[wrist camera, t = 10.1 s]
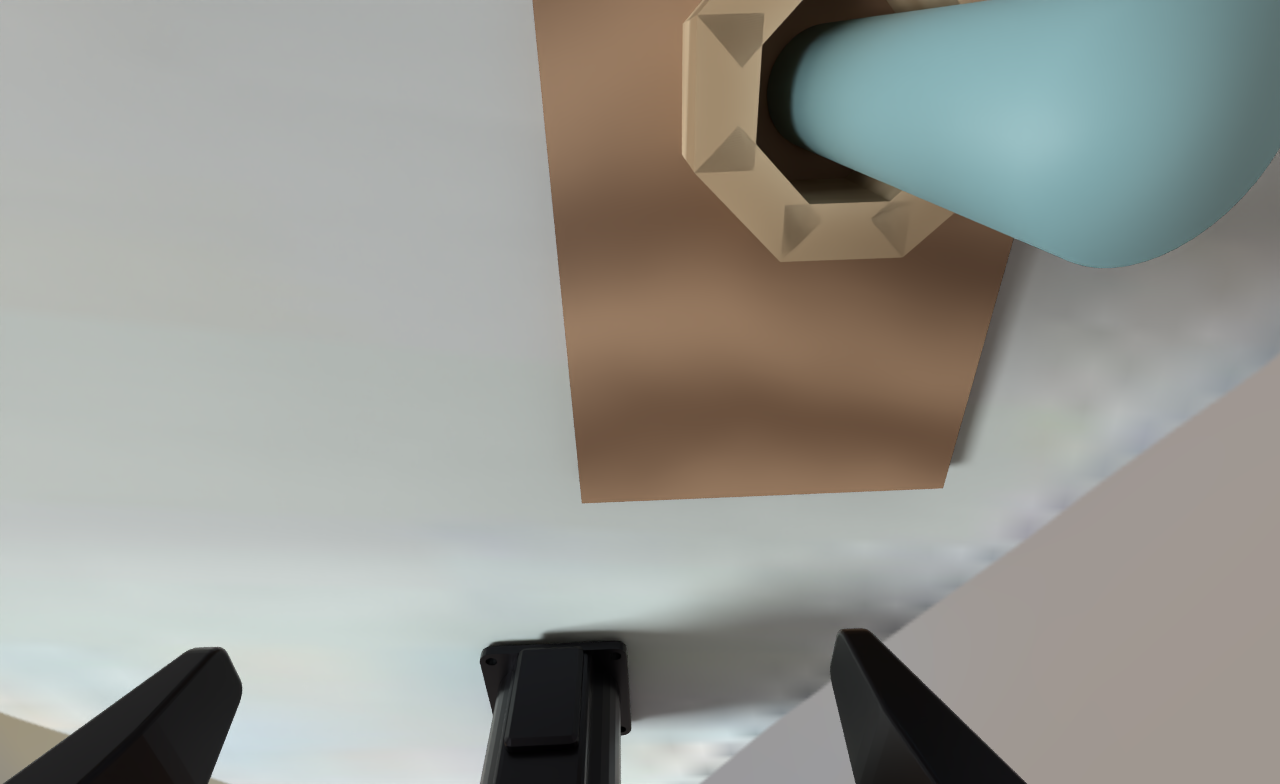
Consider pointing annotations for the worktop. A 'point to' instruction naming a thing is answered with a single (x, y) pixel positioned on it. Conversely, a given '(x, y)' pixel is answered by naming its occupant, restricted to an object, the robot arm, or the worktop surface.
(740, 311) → the board
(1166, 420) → the worktop surface
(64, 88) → the worktop surface
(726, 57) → the bead
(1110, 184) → the dowel
